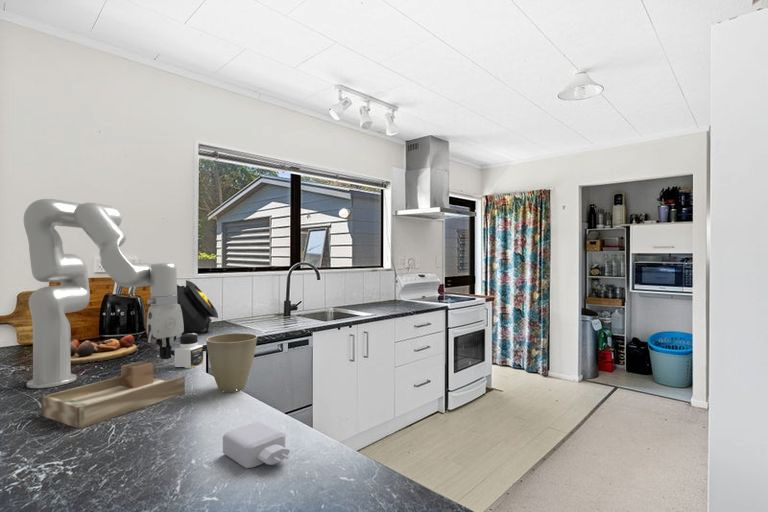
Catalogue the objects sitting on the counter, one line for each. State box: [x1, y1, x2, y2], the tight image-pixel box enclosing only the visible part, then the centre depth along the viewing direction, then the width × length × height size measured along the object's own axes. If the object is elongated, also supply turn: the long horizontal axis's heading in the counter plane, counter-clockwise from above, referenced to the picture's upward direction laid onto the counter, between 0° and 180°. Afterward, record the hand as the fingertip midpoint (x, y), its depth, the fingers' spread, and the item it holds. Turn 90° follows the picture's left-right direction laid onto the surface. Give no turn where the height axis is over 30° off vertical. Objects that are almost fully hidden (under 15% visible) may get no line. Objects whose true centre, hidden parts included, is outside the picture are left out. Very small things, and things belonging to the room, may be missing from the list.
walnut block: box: [120, 360, 154, 389], centre depth 121 cm, size 6×6×6 cm
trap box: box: [41, 375, 186, 429], centre depth 112 cm, size 18×28×5 cm, turn 153°
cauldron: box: [177, 279, 219, 333], centre depth 217 cm, size 28×28×24 cm
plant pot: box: [205, 332, 258, 393], centre depth 125 cm, size 15×15×16 cm
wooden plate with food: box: [71, 334, 138, 365], centre depth 169 cm, size 32×32×8 cm
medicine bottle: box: [174, 332, 204, 369], centre depth 152 cm, size 7×7×12 cm
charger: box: [222, 420, 291, 469], centre depth 81 cm, size 5×9×15 cm
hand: (165, 358), depth 129 cm, fingers closed
